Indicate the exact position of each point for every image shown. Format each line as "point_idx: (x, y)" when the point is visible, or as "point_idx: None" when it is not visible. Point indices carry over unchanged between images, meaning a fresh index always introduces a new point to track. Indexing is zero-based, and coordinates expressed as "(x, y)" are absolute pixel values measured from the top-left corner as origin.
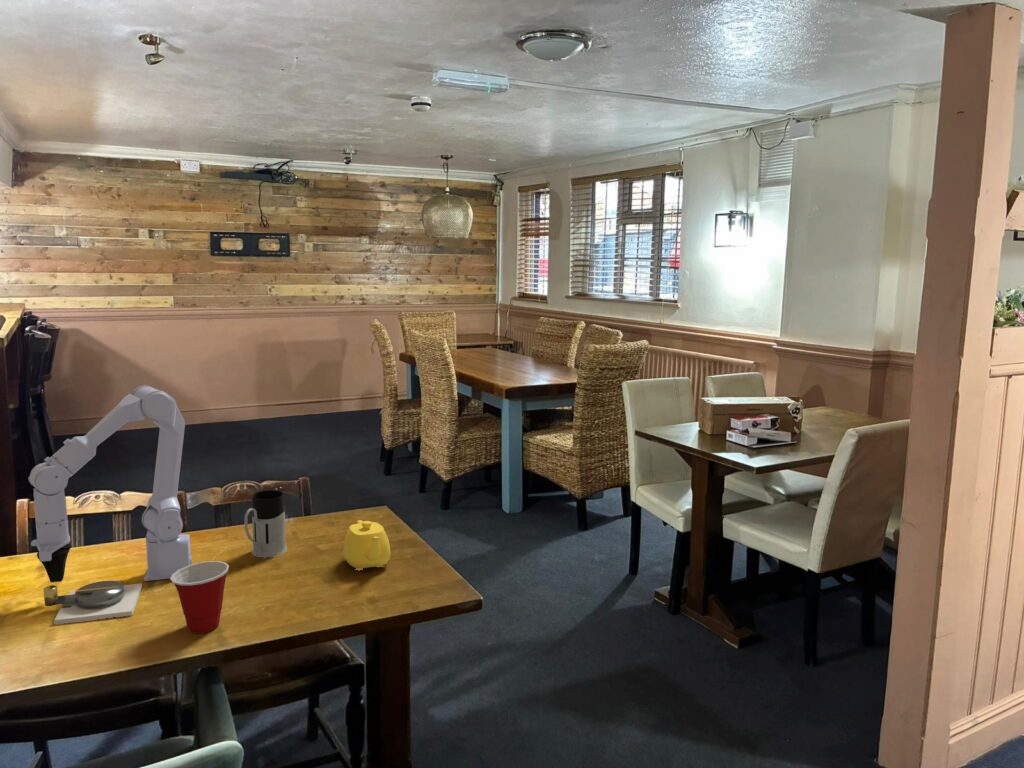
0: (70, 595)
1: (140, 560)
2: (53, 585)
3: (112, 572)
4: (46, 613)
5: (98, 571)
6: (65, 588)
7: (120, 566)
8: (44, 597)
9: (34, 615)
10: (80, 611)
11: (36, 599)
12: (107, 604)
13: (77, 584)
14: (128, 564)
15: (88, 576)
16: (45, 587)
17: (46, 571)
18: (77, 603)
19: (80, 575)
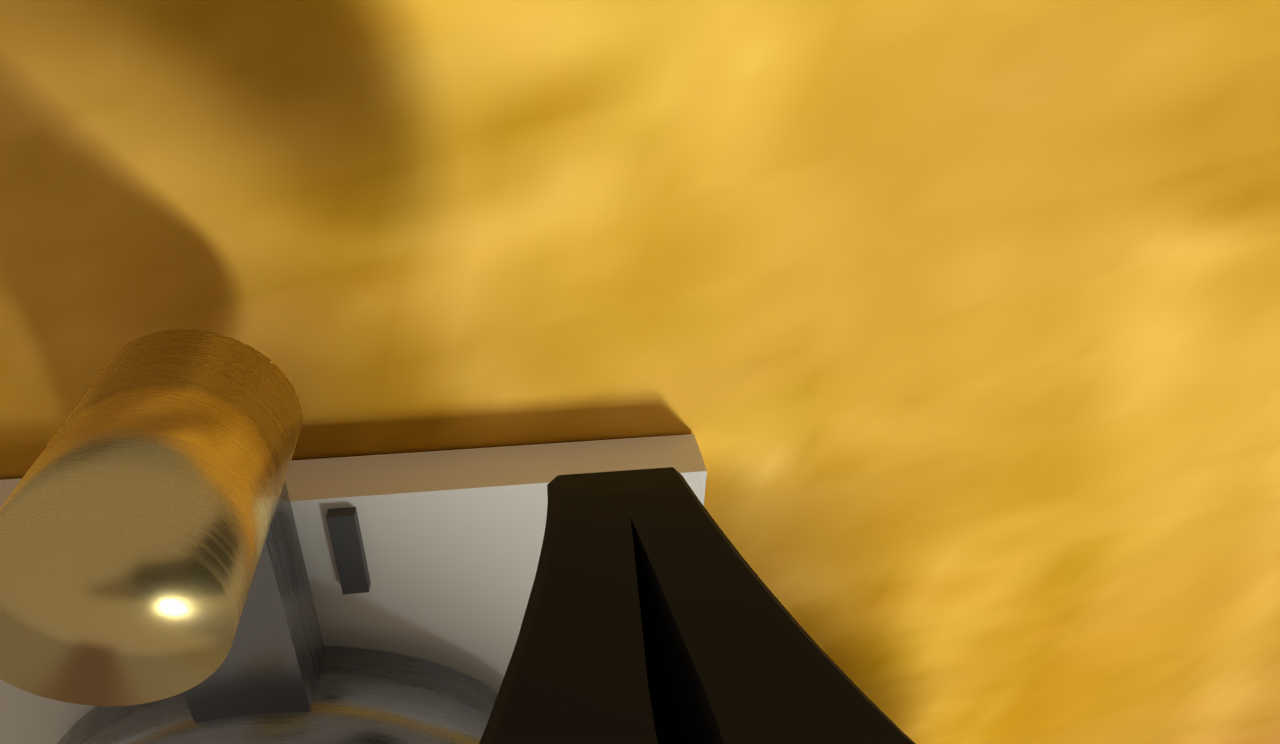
0: (267, 662)
1: (1270, 733)
2: (227, 635)
3: (1140, 625)
4: (137, 304)
5: (1257, 515)
6: (953, 321)
7: (1245, 645)
8: (72, 427)
9: (62, 155)
10: (20, 715)
11: (715, 23)
12: None
13: (1008, 416)
14: (1246, 684)
15: (1181, 463)
16: (118, 540)
17: (514, 664)
18: (94, 728)
19: (1271, 381)
